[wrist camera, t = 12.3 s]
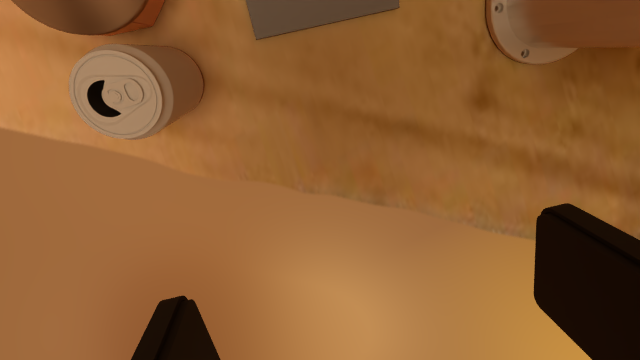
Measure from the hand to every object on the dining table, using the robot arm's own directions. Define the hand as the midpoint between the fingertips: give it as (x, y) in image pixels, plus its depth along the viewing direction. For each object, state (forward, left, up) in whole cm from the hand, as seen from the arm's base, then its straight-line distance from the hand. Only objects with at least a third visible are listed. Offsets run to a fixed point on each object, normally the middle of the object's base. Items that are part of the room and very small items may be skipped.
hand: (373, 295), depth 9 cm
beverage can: (+12, -6, -28) cm, 32 cm away
